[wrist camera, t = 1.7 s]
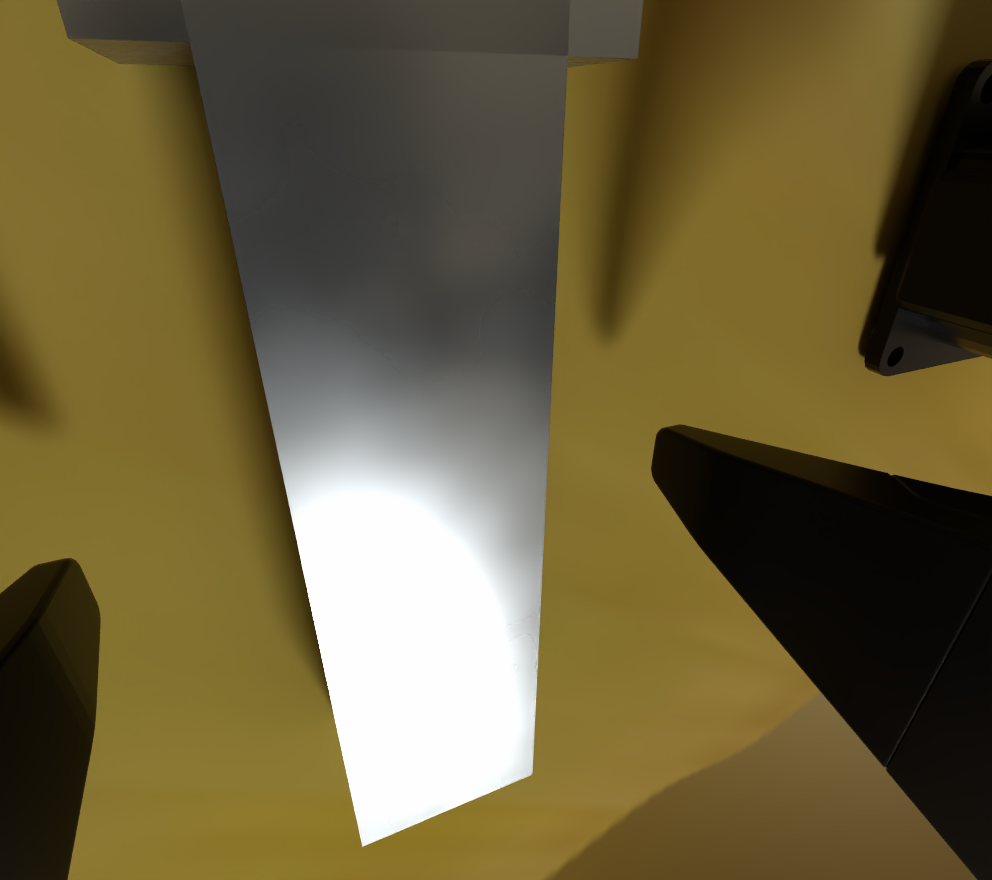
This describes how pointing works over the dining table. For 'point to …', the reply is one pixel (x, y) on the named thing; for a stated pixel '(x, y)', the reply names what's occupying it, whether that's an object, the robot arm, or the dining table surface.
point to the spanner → (399, 338)
